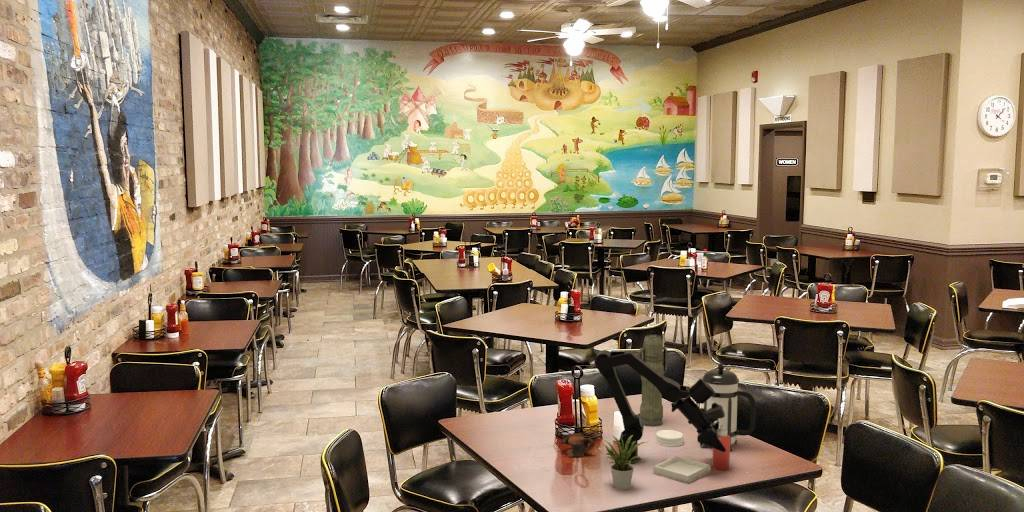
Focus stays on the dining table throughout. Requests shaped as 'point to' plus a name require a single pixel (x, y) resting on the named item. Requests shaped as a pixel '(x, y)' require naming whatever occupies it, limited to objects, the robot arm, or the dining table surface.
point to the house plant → (622, 463)
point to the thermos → (650, 394)
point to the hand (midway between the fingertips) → (725, 447)
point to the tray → (681, 469)
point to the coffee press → (728, 401)
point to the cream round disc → (669, 438)
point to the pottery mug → (577, 444)
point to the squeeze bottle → (721, 458)
